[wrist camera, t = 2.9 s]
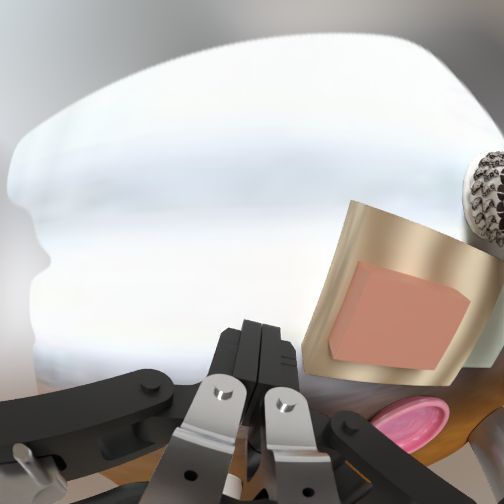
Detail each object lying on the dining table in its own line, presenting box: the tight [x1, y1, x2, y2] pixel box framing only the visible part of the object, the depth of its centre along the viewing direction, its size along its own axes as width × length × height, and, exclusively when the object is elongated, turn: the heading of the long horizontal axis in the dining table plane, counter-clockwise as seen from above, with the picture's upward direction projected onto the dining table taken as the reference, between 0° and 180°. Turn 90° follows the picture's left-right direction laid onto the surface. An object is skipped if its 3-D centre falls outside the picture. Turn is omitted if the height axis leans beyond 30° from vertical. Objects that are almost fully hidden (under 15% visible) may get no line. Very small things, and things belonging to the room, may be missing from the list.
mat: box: [462, 257, 504, 368], centre depth 21 cm, size 12×13×1 cm
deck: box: [301, 200, 504, 386], centre depth 19 cm, size 16×13×4 cm
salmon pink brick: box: [328, 261, 471, 370], centre depth 16 cm, size 9×6×2 cm, turn 76°
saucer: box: [370, 396, 449, 454], centre depth 24 cm, size 12×12×3 cm
